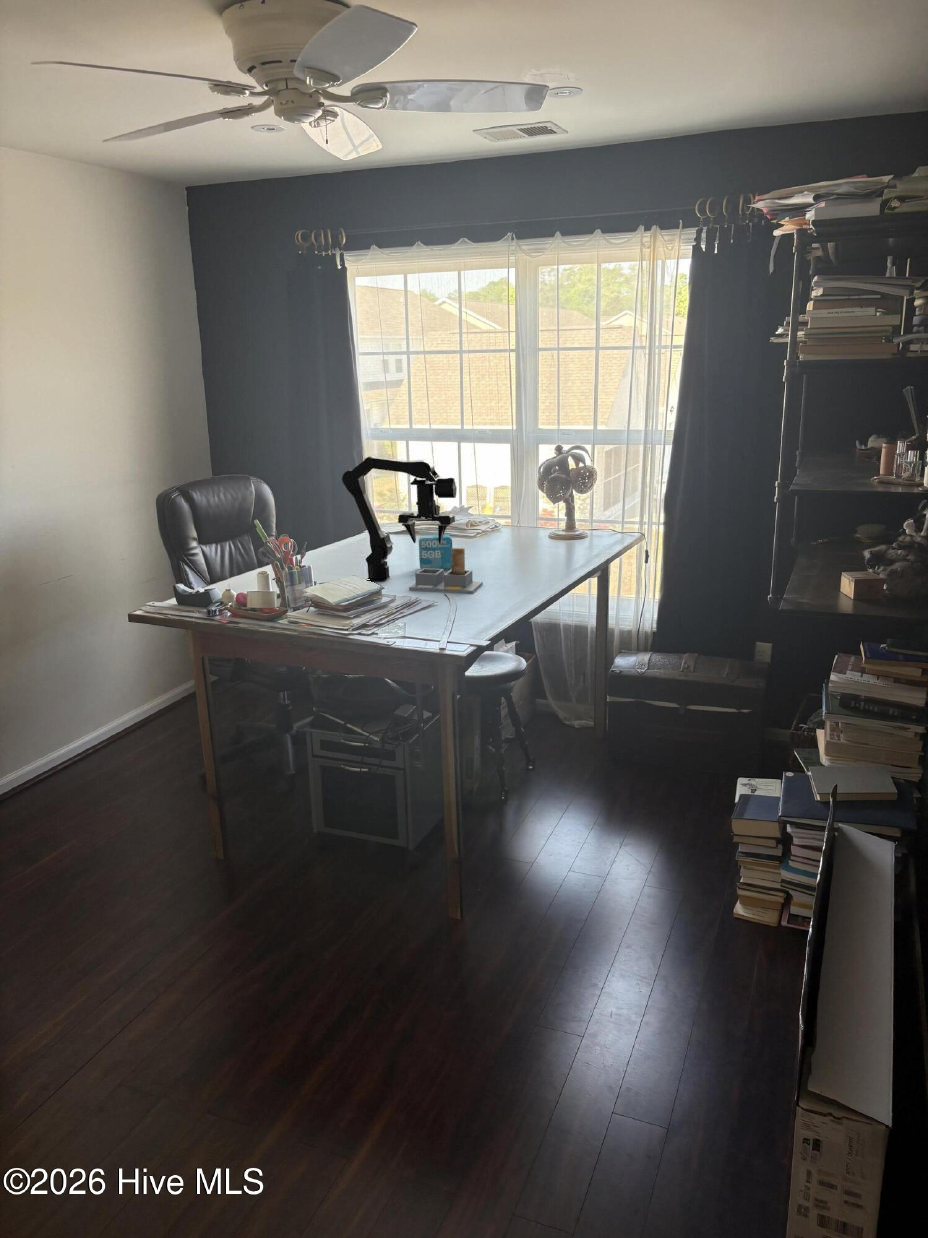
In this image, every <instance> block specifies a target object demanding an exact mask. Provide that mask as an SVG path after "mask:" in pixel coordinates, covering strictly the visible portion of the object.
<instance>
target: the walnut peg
mask: <svg viewBox="0 0 928 1238" xmlns="http://www.w3.org/2000/svg"><path fill="white" fill-rule="evenodd" d="M465 551H466V548H464V547H459V546H458V547H452V549H451V560H452V568H451V570H452V575H465V570H466V568H465V567H466V563H465V562H466V561H465V560H466V557H465V555H466V553H465Z"/></svg>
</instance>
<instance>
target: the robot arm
mask: <svg viewBox="0 0 928 1238" xmlns="http://www.w3.org/2000/svg"><path fill="white" fill-rule="evenodd" d="M372 470H381V471H388V472H389V471H391V472H397V473H405V474H407V475H409V476H412V477H414V478H413V480H412V481H411V482H410V483H409V484H410V486H416V502H415V503H416V504H415V505H416V507H417V513H416V515H415V513H414V512H407V511H406V512H402V513H400V514H399V515H398V516H397V523H398V524H401V526H402V527H403V526H404V528H405V529H406V531H407V532H408V534H409V537H410V538H411V540H412V542H413V544H417V543H416V542H417V536H416V522H438V523H439V524H438V525H437V526H438V527H437V529H438V530H437V531H438V533H437V535H438V540H439V544H441V542H442V539H443V536H444V535H445V532H446V529H448V527H450V526H451V525H452V524H454V523H455V522H456V516H455V515H454V514H453V513H442V514H440V513H441V506H440V505H438V504H437V503H436V502H437V501H436V499H435V496H436V497H438V499H440V498H441V499H446V498H447V499H456V497H457V484H456V481H455V477H453V476H452V477H441V476H440V475H439V473H438V471H437V470H436V469H435V465H434V463H433V461H431V460H430V459H415V460H405V459H396V458H389V457H387V458H386V457H381V456H379V457H378V456H375V455H369V456H368V457H365V458H364V460H363V461H361V462H360V463H359V464H358V465H356V466H355V467H353V468H350V469H349V470H346V471H345V472H344V473H343V474H342V477H341V480H342V481H341V482H342V484H343V486H344V487H345V489H346V490H347V491H348V493H349V494H350V495H351V496H352V497H353V498H354V502H355V504H356V506H357V509H358V511H359V513H360V516H361V518H362V521H363V524H364V526H365V528H366V531H367V533H368V535H369V546H370V551H371V552H370V554H369V555H367V557H366V558H365V562H366V564H367V576H368V577H367V578H366V579H370V580H374V581H373V582H385V581H386V580H388V579H389V578H390V577H391V576H390V566H389V565H388V561H387V560H388V557H389V556H390V555H391V554H392V552H393V550H394V549H393V548H394V547H393V545H394V542H393V541H392V540H391V536H390V533H387V534H385V533H384V531H382V529H381V527H380V524H379V521H378V519H377V517H376V514H375V511H374V509H373V507H372V504H371V501H370V500H369V497H368V493H367V490H366V489H367V487H366V480H365V479H366V478H365V476H366V475H368V474H369V473H370V472H371V471H372Z"/></svg>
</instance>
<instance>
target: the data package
mask: <svg viewBox="0 0 928 1238" xmlns="http://www.w3.org/2000/svg"><path fill="white" fill-rule="evenodd" d="M452 548H453V538H452V537H451V536H450V535H449V534H444V536H443V539H442V542H441V544H439V540H438V534H437V535H434V534H433V535H421V536H419V538H418V556H419V557H418V558H419V559H418V560H419V568H420V570H421V569H423V568H428V569H450V570H452V560H451V549H452Z"/></svg>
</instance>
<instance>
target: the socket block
mask: <svg viewBox="0 0 928 1238" xmlns="http://www.w3.org/2000/svg"><path fill="white" fill-rule="evenodd" d="M414 575H415V579H414V580H415V582H414V583H413V584H412V585H410V586H408V589H409V590H408V591H415V590H420V591H419V592H435V593H436V592H438V593H453V594H454V593H455V594H458V593H459V594H472V595H473V594H474V593H475V592H476V591H477V590H478V589H480V587H481V585H482V586H483V585H484V582H483V581H480V580H479V581H475V580H473V578H474V577H473V570H471V569H465V575H452V569H450V570H448V571H447V572H445V570H444V569H428V568H423V569H421V568H420V569H419V570H418V571H416V572H415V573H414Z"/></svg>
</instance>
